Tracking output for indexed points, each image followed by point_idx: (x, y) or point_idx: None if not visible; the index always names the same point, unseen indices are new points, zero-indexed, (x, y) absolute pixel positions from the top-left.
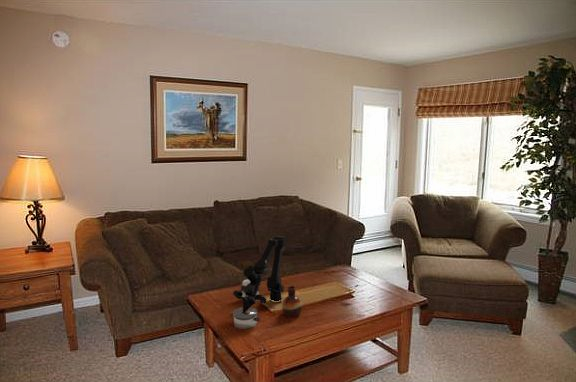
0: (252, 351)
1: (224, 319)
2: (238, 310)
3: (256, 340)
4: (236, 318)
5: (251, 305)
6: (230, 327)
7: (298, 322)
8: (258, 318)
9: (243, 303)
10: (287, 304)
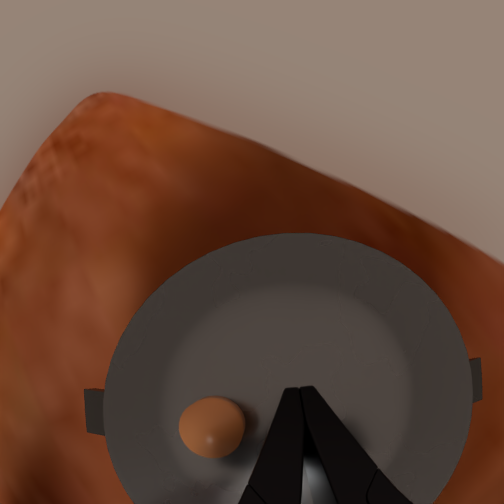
0: (55, 130)
1: (490, 344)
2: (424, 408)
3: (59, 211)
4: None
5: None
6: None
7: None
8: (94, 418)
9: (383, 496)
10: None
